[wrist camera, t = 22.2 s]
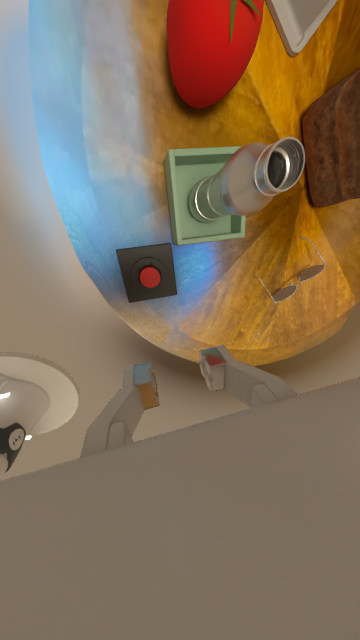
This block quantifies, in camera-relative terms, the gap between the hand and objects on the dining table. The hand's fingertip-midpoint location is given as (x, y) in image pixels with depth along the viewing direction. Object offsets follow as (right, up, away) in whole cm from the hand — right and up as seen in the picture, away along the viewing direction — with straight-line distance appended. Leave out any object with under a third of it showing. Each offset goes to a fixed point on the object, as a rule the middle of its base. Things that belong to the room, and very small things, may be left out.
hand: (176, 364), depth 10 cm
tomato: (+3, +39, +15) cm, 42 cm away
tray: (+4, +24, +22) cm, 33 cm away
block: (-6, +12, +26) cm, 29 cm away
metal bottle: (+4, +24, +22) cm, 33 cm away
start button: (-5, +11, +22) cm, 26 cm away
